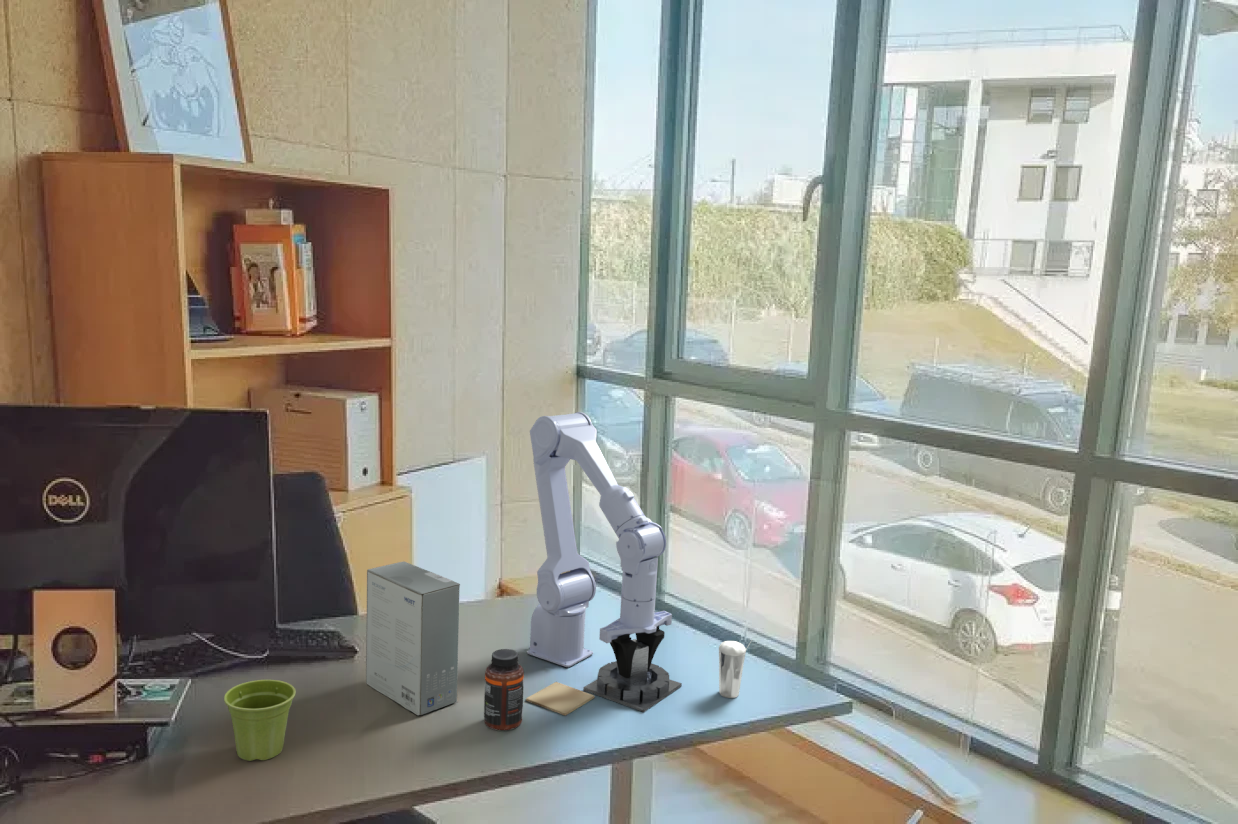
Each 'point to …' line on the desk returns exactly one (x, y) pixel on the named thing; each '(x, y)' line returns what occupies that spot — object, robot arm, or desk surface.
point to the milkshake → (730, 668)
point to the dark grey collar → (633, 687)
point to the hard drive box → (412, 636)
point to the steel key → (637, 667)
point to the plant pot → (259, 717)
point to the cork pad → (560, 698)
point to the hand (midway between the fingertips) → (633, 672)
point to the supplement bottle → (503, 691)
